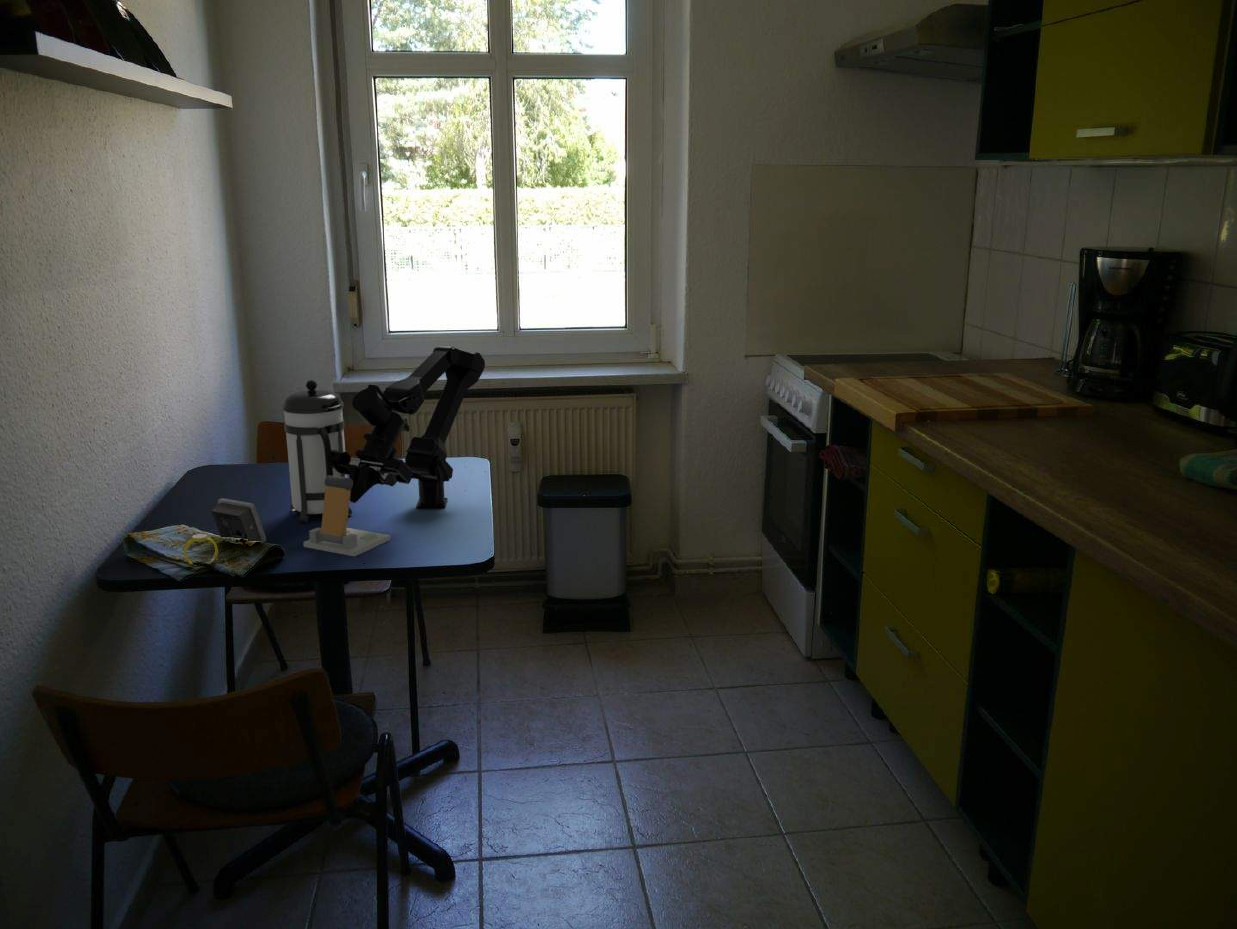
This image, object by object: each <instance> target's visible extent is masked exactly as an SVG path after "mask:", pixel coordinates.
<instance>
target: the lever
mask: <svg viewBox="0 0 1237 929" xmlns="http://www.w3.org/2000/svg"><path fill="white" fill-rule="evenodd" d="M324 483H325V486H326V488H325V498H324V507H323V514H322V517H321V518H322V519H321V527H320V528H321V531H320V532H319V533H318V539H319V540H321V541H327V542H332V543H338V544H343V537H344V536H346V529H347V528H348V517H349V516H348V514H349V513H348V511H349V507H350V492H351V489H352V487H353V481H352V479H350V478H349V477H347V478H344V477H337V476H330V475H328V476H327V477H326V478H325V481H324Z"/></svg>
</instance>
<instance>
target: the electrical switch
mask: <svg viewBox="0 0 1237 929" xmlns="http://www.w3.org/2000/svg"><path fill="white" fill-rule="evenodd" d="M217 503H218V504H217V505H216V506H215V507H214V508H213V509H211V510H210V512H211V514H212V517H213V521H214V522H215V525H216V528H217V530H218V533H219V536H220V538H221V537H234V538H244V539H248V541H261V542H264V543H265V542H266V541H267V537H266V533H265V530H264V528H263V525H262V522H261V519H260V517H259V514H258V511H257V508H256V505H255V504H254V503H251V502H247V501H240V500H235V499H230V498H223V497H221V498H219V499H218V500H217Z"/></svg>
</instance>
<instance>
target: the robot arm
mask: <svg viewBox="0 0 1237 929" xmlns="http://www.w3.org/2000/svg"><path fill="white" fill-rule="evenodd" d="M485 368H486V362H485V358H483V356H482V354H481V353H480V352H478V351H477V352H476V351H465V350H461V349H458V348H456V347H455V346H450V345H449V346H448V345H447V346H446V345H438V346H436V347H434V349H433V350H432V353H431V354H430V355H429V356H427V358H426V359H425V360H424V361H422V363H421V364H420V365H419V366H418V367H416V368H415V370H414V371H413V372H411V374H410V375H409V376H407V377H406V378H403V379H400V380H397V381H395V382H393V383H391V384H389V385H388V386H387V387H385V390H384V391H382V390H381V388H380V387H379V386H378V384H368V386H367V388H365V389H362V390H360V391H359V392H358V393H357V394H356V395H354V397H353V398H352V400H351V401H352V402H351V405H352V409H354V410H355V411H356V412H357V414H358V415H359V416H360V417H361V418H362V420H364V421H365V423H367V425H369V426H373V427H372V428H371V430H370V433H364V435H363V439H364V440H365V443H364V444H363V446H362V448H361V449H357V450H356V452H355V453H354V455H355V456H356V457H352V456H351V455H350V454H349V453H348V451H345V452H344V451H337V450H332V451H331V455H330V456H329V457H328V458H326V459H328V460H329V461H332V466H333V468H334V469H335V470H336V471H337V472H338V473H340V474H345V475H347V476H348V478H350V479H352V481H353V487H352V489H351V492H350V501H349V503H352V504H356V503H357V502H358V501H359V500H360V499H361V498H363V496H364V495H365V494H366V493H368V491H369V490H370V489H372V488H373V487H374V486H376V485H381V486H383V485H386V486H390V487H394V486H395V485H396V484H397V483H399V484H405V485H409V484H410V482H411V481H412V480H413V479H414V480H417V481H418V500H417V503H416V506H415V507H416V509H443V508H446V506H447V503H448V497H445V482H449V481H450V480H451V479H453V474H454V473H453V472H454V468H453V467H452V466H451V465H450V463H449V462H448V461H447V458H448V453H447V447H446V441H447V438H448V437H449V433H450V431H451V429H452V427H453V424H454V421H455V419H456V417H457V415H458V412H459V409H460V408H461V404H462V403H463V400H464V397H465V396H466V393H467V391H468V390H469V389H470V388H471V387H473V386H474V385H475V384H477V383H478V381H479V380H480V378H481V376H482V374H484V370H485ZM444 374H445V378H446V382H445V385H444V386H443V387H444V388H443V390H442V392H441V393H440V397H439V399H438V402H437V404H436V406H435V408H434V411H433V412H432V415H431V418H430V420H429V422H428V425H427V427H426V430H425V432H424V434H423V435H421V436H413V438H412V439H411V441H410V443H409V446H408V448H407V449H406V451H405V452H406V456H405V459H404V460H403V459H402V458H396V456H397V449H396V447H395V446H396V444H397V441H398V440H399V438H400V435H401V434H402V432H407V433H408V432H410V430H411V429H410V425H409V423H408V419H407V418H403V417H402V416H401V414H404V415H410V416H411V415H415V413H417V412H418V410H420V408H421V406H422V405H423V403H424V402H425V394H426V392H427V391H428V390H429V389H430V388H431V387H432V386H433V385H434V384H435V383H436V382H437V381H438V380H439V379H440V378H441V377H442V375H444ZM326 459H325V460H326Z"/></svg>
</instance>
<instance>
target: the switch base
mask: <svg viewBox="0 0 1237 929" xmlns="http://www.w3.org/2000/svg"><path fill="white" fill-rule="evenodd" d="M320 531H321V527H315V528H313V529H311V530H309V531H308V533H309V539H308V540H305V541H303V543H302V544H303V547H304V548H307V549H308V548H309V549H313V550H318V551H319V550H320V551H325V552H329V553H334V554H339V555H344V556H345V555H346V556H349V557H350V556H351V557H356V556H358V555H361V554H363V553H366V552H367V551H370V550H371V549H373V548H376V547H377V546H380V545H382V544H384V543H385V542H388V541H390V540H391V537H390V536H391V535H389V534H384V533H380V532H379V533H378V532H373V531H367V530H362V529H358V528H357V529H356V528H350V527H347V529H346V536H344V537H343V544H338V543H332V542H327V541H321V540H319V539H318V533H319V532H320Z"/></svg>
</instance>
